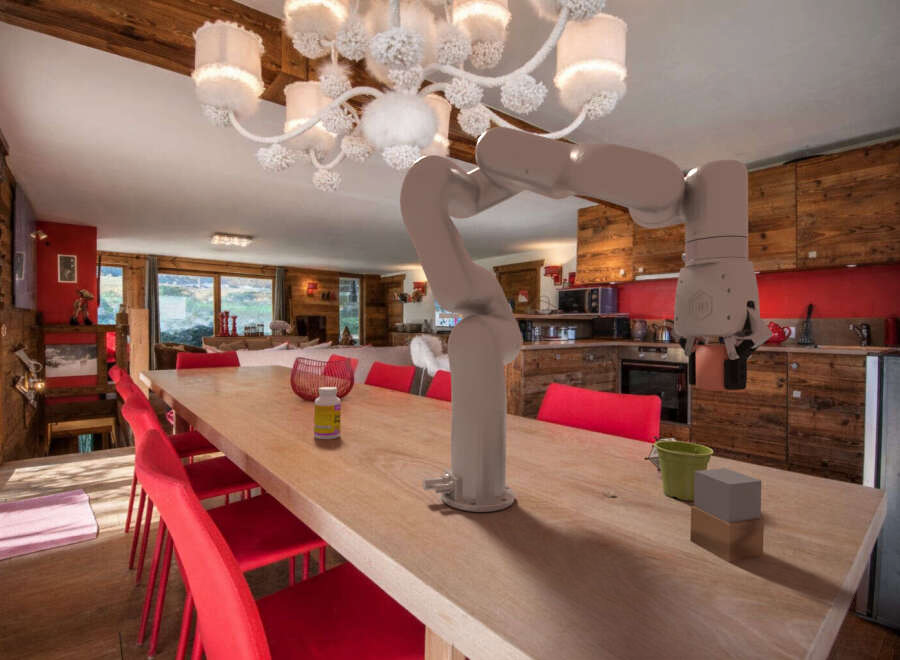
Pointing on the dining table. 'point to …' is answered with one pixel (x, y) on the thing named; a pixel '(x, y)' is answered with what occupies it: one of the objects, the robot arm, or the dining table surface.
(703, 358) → the cylinder
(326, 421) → the supplement bottle
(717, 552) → the tower base
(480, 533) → the dining table surface
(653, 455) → the game die
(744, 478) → the tower top
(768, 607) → the dining table surface
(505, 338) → the robot arm
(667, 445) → the plant pot
